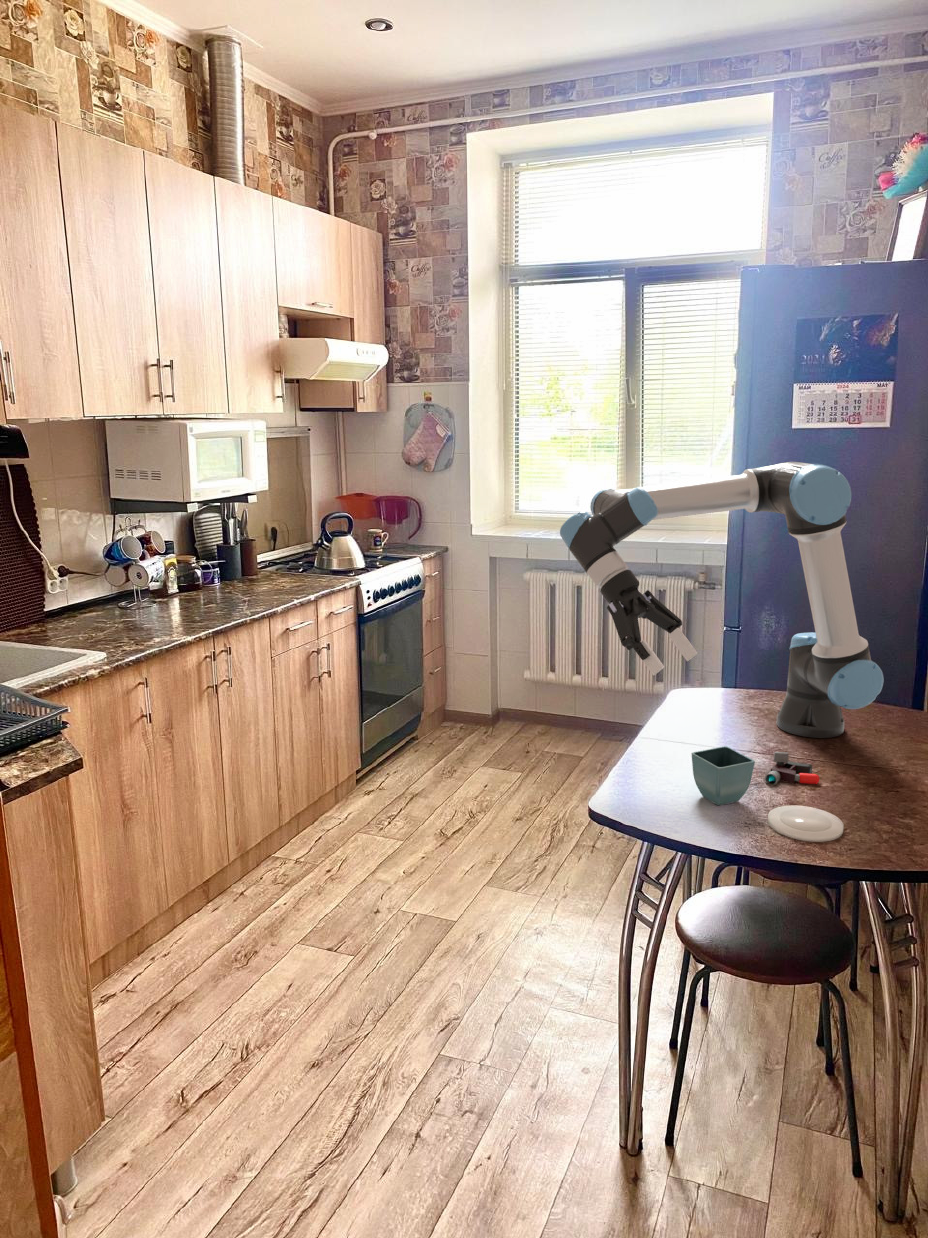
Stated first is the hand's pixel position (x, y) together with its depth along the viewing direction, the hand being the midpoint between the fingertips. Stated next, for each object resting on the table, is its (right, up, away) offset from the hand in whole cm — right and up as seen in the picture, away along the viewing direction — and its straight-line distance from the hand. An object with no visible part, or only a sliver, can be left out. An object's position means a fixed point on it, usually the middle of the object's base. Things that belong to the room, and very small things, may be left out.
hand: (676, 664), depth 182 cm
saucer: (+21, -29, -12) cm, 38 cm away
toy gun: (+26, -25, +9) cm, 37 cm away
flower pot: (+8, -27, -1) cm, 28 cm away
